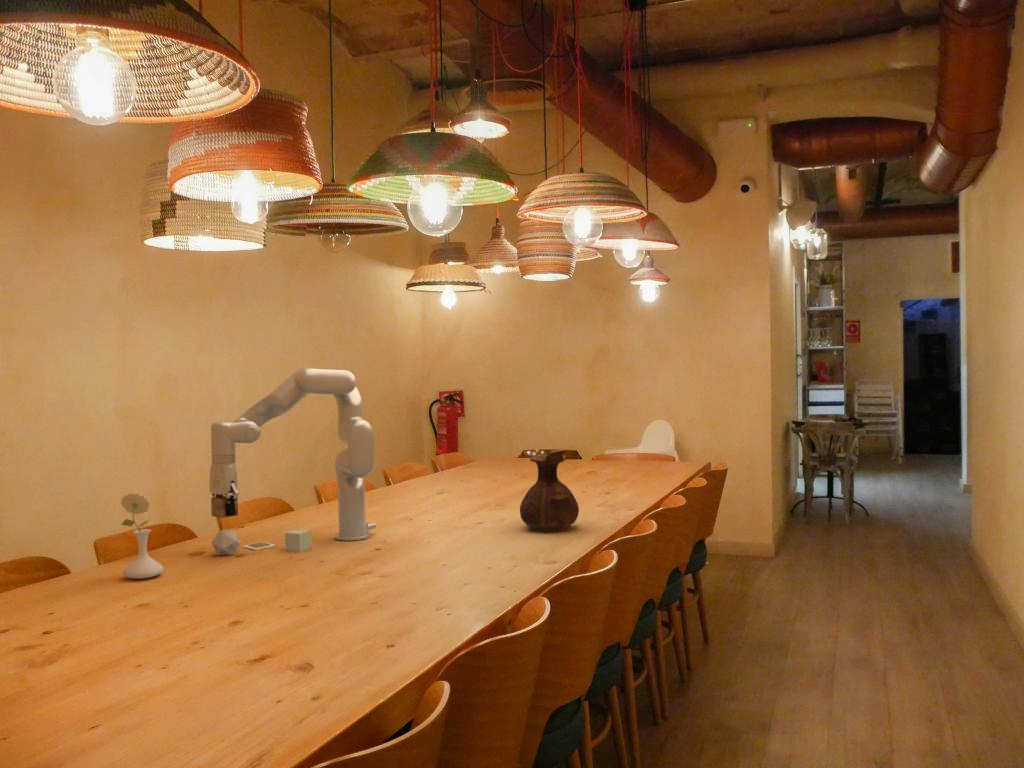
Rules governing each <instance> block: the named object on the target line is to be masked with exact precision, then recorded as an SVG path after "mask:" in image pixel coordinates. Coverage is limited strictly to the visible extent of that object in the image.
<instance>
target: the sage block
mask: <svg viewBox="0 0 1024 768" xmlns="http://www.w3.org/2000/svg"><path fill="white" fill-rule="evenodd" d="M284 537H285V539H284V540H285V541H284V542H285V547H284V549H285V551H287V550H288V551H289V552H297V551H298V552H299V553H301V552H303V551H306V550H309V549H312V531H311V530H307V529H294V530H289V531H287V532H284ZM288 551H287V552H288Z"/></svg>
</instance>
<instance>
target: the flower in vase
mask: <svg viewBox="0 0 1024 768" xmlns="http://www.w3.org/2000/svg"><path fill="white" fill-rule="evenodd" d="M121 499H122V500H121V502H120V505H122V508H123V509H125V511H126V512H128V513H130V514H132V517H131V519H132V520H131V519H124V521H123V522H122V523H121V525H122V526H126V527H132V526H134V525H135V526H136V528H137V529H136V530H133V531H132V533H133V534H134V536H135V537H136V539H137V546H138V553H137V556H136V558H135V559H134V560H132V561H131V563H129V564H127V566H126V567H125V568H124V569H123V571H122V576H124V577H125V578H128V579H134V580H137V579H138V580H139V579H141V580H143V579H149V578H153V577H156V576H159V575H160V574H162V573H163V572H164V570H165V569H164V566H163V565H162V564H161V563H160V562H158V561H157V560H155V559H153V558H152V557H150V556H149V554H148V549H147V548H148V547H147V546H148V545H147V544H148V538H149V535H150V533H151V532H152V529H149V528H148V529H147V528H145V529H142V528H141V529H140V527H142V526H144V525H146V524H148V523H149V522H150V520H151V518H149V519H147V520H145V521H143V522H141V524H139V525H138V524H137V523H136V521H135V519H134V517H135V515H142V514H144V513H147V512H148V511H149V508H150V502H149V501H148V499H147V498H146V497H145V496H144V495H140V494H139V493H136V494H135V493H134V492H132V493H128V494H126V495H123V497H121Z"/></svg>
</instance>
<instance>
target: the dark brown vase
mask: <svg viewBox="0 0 1024 768" xmlns="http://www.w3.org/2000/svg"><path fill="white" fill-rule="evenodd" d="M564 453H566V449H557V450H551V451H549V452H548V453H547V454H540V455H539V454H538V455H534V456H531V457H530V459H529V460H530V461H531V462H533V463H535V464H536V466H537V479H536V481H535V482H534V484H533V485H532V486H531V487H530V488H529V489H528V490H527V492H526V493H525V495H524V497H523V499H522V500H521V503H520V506H519V514H520V515H519V516H520V519H521V520H522V521H523V523H524V524H526V525H527V527H529V528H530V529H531V530H534V531H537V532H554V531H562V530H565V529H567V527H570V526H572V525H573V524H574V523H575V522H576V521H577V519H578V516H579V512H580V507H579V505H578V504H579V503H578V502H577V499H576V498H575V495H574V493H572V491H571V489H570V488H569V487H568V486H567V485H566V484H565V483H563V482H561V481H560V480H559V478H558V466H559V465H560V463H563V462H565V461H566V456H565V454H564Z"/></svg>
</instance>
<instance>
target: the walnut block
mask: <svg viewBox="0 0 1024 768" xmlns="http://www.w3.org/2000/svg"><path fill="white" fill-rule="evenodd" d="M230 497H231V496H229V498H230ZM238 498H239V497H238V496H237V499H236V503H235V515H231V516H226V507H225V504H227V502H226V497H225V495H223V496H220V497H213V496H212V497H211V498H210V501H211V502H210V503H211V505H210V506H211V507H210V508H211V509H210V510H211V511H210V512H211V517H213V518H214V517H215V518H220V519H225V518H230V517H236V516H239V509H238V507H239V505H238V504H239V503H238V502H239V501H238Z"/></svg>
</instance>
